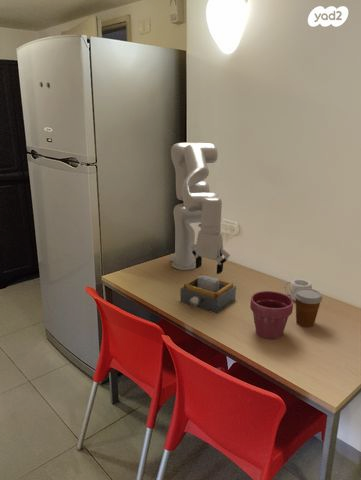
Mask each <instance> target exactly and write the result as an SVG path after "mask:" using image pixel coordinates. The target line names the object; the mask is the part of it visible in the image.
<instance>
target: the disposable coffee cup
mask: <svg viewBox="0 0 361 480" xmlns="http://www.w3.org/2000/svg"><path fill="white" fill-rule="evenodd" d="M295 298H296V301H295V321H296V324H297V325H298V326H300V327H303V328H312V327H314V325H315V323H316V318H317V317H318V316H317V315H318V312H319V308H320V305H321V302H322V301H323V297H322V293H321V292H320V291H319V290H317V289H313V288H312V289H310V288H301V289H298V290H297V291H296V293H295Z"/></svg>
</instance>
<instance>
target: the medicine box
mask: <svg viewBox="0 0 361 480" xmlns="http://www.w3.org/2000/svg"><path fill="white" fill-rule="evenodd" d="M202 275H203V276H201V277H199V278H198V287H199V288H202V289H205V290H208V291H212V292H215V293H216V292H217V291H219V279H220V278H217V279H216V277H213V276H210V275H209V276H208V275H206V276H205V274H202Z"/></svg>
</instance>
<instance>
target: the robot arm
mask: <svg viewBox="0 0 361 480" xmlns="http://www.w3.org/2000/svg"><path fill="white" fill-rule="evenodd" d="M218 153H219V152H218V149H217V147H216V145H215V143H212V142H211V143H210V142H192V141H191V142H177V143H175V144H173V145H172V146H171V150H170V156H171V157H170V158H171V161H172V164H173V166H174V172H175V192H176V193H175V194H176V198H177V199H178V200H179V201H182V202H183V203H179V204H177V205H175V206H174V208H173V219H174V227H175V228H174V231H175V234H174V239H175V241H174V243H175V244H174V247H175V248H174V254H173V253H170V255H169V258H168V259H170V260H172V262H171V266H172V268H174V269H175V270H180V271H181V270H182V271H189V270H194V269H199V268H201V267H202V264H203V263H202V260H203V259H202V258H206V259H208V260H212V261H216V262H217V265H216V274H217V275H219V274H221V273H222V272H223V269H224V263H225V262H227V261H228V259H229V258H230V256H231V255H230V253H228V252H227V251H226V250H225V249H224V244H223V243H224V242H223V239H224V238H223V234H222V232H221V222H222V205H223V203H222V202H223V201H222V198H221V197H220V196H219V194H217V193H216V192H212V191H211V192H210V185H209V183H208V182H207V181H206V179H207V178H208V176H209V174H210V170H209V167H208V164H214V163H215V162H217V160H218V155H219V154H218ZM198 223H199V224H198ZM190 224H198V228H200V230H198V233H197V236H196V239H195V235H196V234H195V233H196V232H195V229H194V228H193V227H192V225H190ZM195 240H196V242H195ZM223 256H224V257H223Z"/></svg>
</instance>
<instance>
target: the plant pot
mask: <svg viewBox="0 0 361 480" xmlns="http://www.w3.org/2000/svg"><path fill="white" fill-rule="evenodd" d="M249 305H250V310H251V311H252V314H253V315H252V316H253V321H254V327H255V332H256V334H257V335H258V336H259V337H262V338H263V339H268V340H276V339H280V338H281V337H283V334H284V330H285V328H286V325H287V323H288V320H289V316H291V315H292V313H293V308H294V300H293V299H292V298H291V296H289V295H288V294H285V293H282V292H278V291H273V290H262V291H258V292H255V293H253V294H252V295H251V297H250V304H249Z"/></svg>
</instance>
